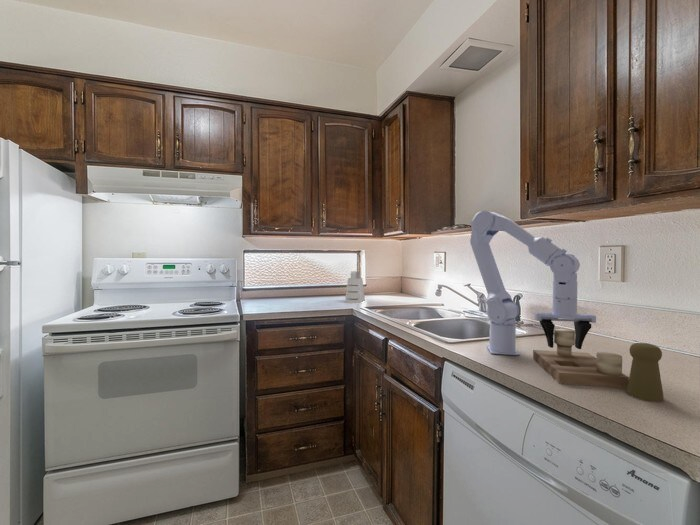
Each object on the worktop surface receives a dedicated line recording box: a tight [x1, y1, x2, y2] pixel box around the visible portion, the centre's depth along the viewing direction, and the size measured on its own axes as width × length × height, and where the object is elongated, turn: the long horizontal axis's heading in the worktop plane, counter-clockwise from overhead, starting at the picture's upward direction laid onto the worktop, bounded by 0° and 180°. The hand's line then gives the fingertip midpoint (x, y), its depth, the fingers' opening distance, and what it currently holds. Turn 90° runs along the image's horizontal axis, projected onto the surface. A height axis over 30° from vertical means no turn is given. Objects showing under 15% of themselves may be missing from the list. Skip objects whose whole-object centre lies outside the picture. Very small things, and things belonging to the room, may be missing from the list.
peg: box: [553, 328, 575, 356], centre depth 95 cm, size 5×5×6 cm
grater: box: [344, 270, 366, 304], centre depth 223 cm, size 10×10×20 cm
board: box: [532, 349, 629, 389], centre depth 88 cm, size 20×14×6 cm
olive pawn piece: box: [626, 342, 665, 403], centre depth 73 cm, size 6×6×11 cm
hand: (564, 347), depth 95 cm, fingers open, 6 cm apart
